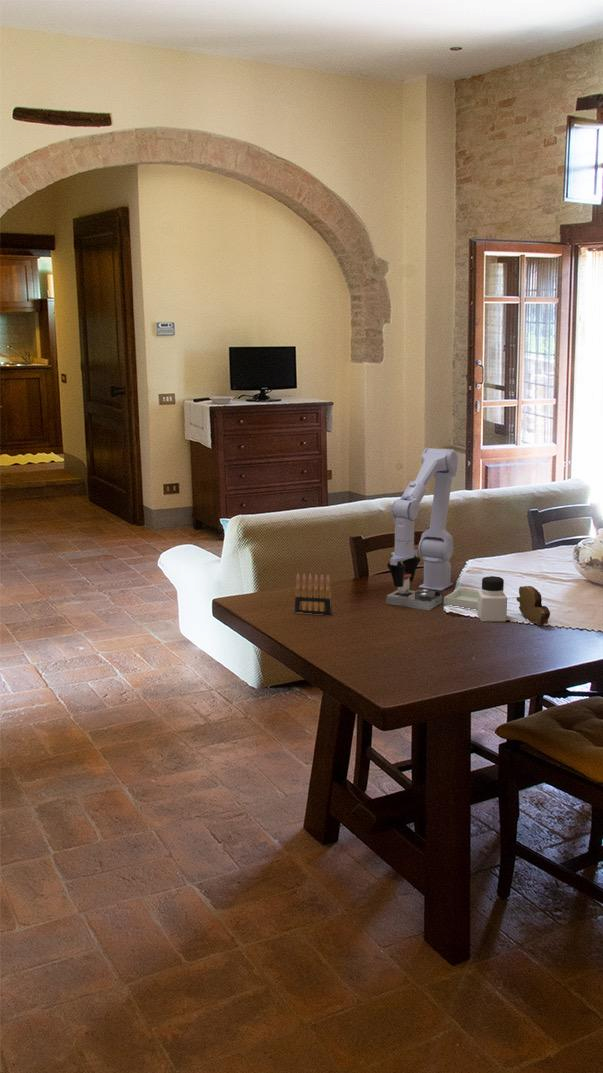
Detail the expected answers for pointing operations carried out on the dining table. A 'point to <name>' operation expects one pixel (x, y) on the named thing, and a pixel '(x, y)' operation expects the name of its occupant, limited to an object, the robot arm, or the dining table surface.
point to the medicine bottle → (492, 600)
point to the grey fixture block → (416, 599)
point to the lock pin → (405, 585)
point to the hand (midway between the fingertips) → (403, 583)
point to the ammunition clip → (313, 596)
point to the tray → (462, 599)
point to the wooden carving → (532, 605)
